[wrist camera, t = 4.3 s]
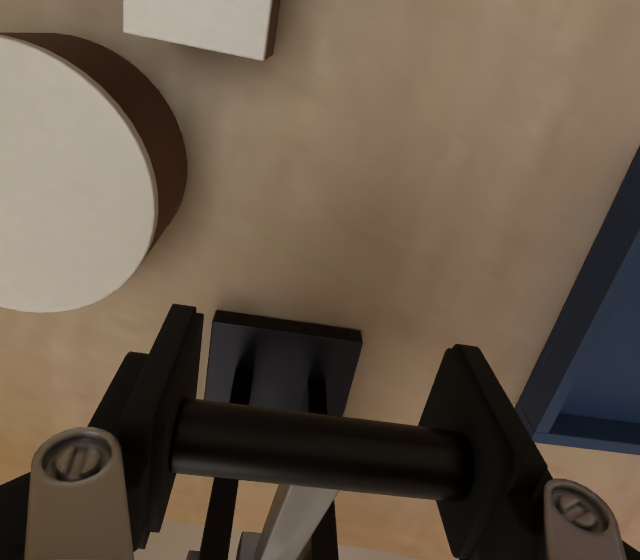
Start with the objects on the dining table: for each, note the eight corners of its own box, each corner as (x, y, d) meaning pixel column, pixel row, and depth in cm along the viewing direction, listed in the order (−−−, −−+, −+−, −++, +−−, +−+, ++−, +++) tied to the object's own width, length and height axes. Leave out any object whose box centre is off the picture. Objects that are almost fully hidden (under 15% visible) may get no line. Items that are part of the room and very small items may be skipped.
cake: (-59, 8, 19) (-185, -1, 14) (194, 60, 20) (160, 68, 15) (-28, 239, 24) (-116, 293, 19) (180, 270, 25) (149, 329, 20)
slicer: (215, 309, 26) (149, 525, 14) (360, 330, 27) (405, 548, 15) (200, 445, 30) (140, 694, 19) (326, 459, 31) (341, 704, 20)
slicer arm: (189, 364, 10) (159, 481, 8) (463, 399, 11) (486, 514, 9) (191, 546, 20) (178, 615, 19) (332, 558, 21) (331, 625, 19)
